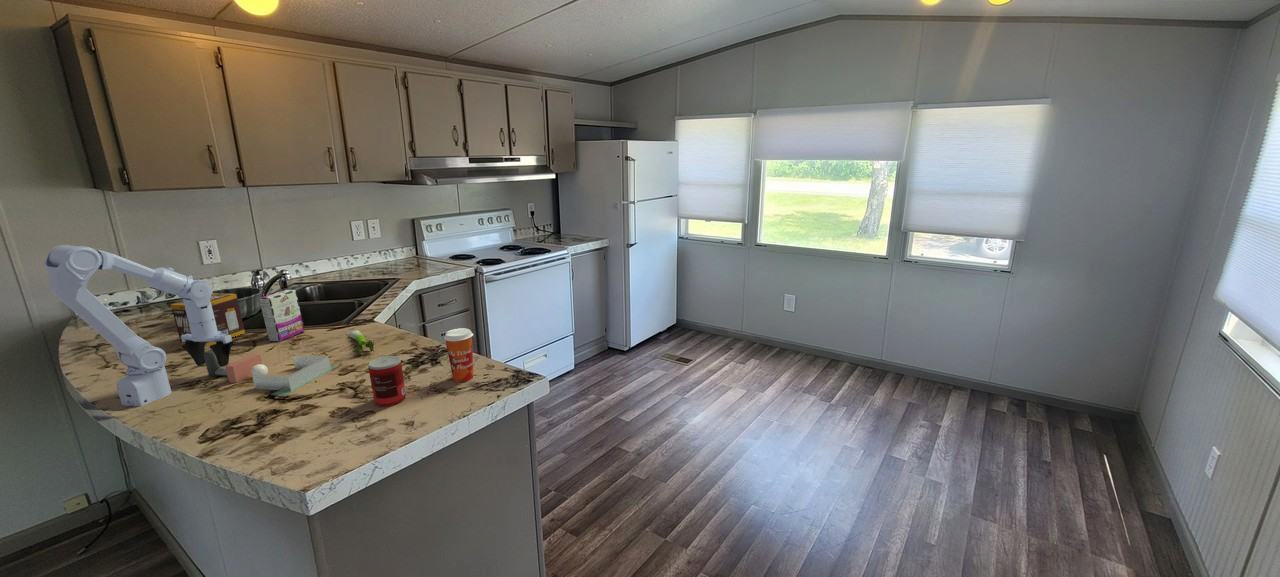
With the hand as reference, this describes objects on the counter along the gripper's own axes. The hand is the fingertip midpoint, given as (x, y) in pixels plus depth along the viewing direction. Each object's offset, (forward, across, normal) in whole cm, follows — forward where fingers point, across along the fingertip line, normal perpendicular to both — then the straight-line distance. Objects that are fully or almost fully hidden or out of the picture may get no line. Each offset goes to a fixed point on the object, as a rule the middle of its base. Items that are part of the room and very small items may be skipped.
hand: (213, 365), depth 149 cm
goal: (+3, -26, 0) cm, 26 cm away
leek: (+5, -26, -28) cm, 39 cm away
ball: (+1, -15, 0) cm, 15 cm away
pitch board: (+4, -14, 0) cm, 15 cm away
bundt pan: (+5, +54, -56) cm, 78 cm away
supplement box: (+5, +34, -31) cm, 46 cm away
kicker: (+3, -5, 0) cm, 6 cm away
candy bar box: (+5, +9, -36) cm, 37 cm away
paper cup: (+5, -74, -7) cm, 74 cm away
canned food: (+5, -61, +8) cm, 62 cm away
